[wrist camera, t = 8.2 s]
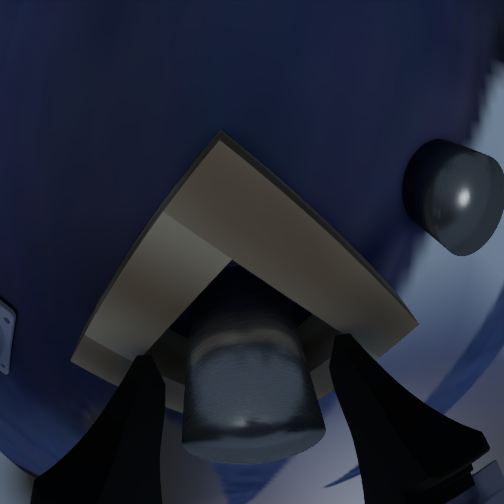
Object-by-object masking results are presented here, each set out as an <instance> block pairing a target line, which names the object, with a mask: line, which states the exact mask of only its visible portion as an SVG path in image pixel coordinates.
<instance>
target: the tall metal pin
mask: <svg viewBox="0 0 504 504" xmlns="http://www.w3.org/2000/svg"><path fill="white" fill-rule="evenodd" d="M325 431H326V428H325V424H324V420H323V417H322V413H321V410H320V406H319V403H318V399H317V396H316V392H315V389H314V385H313V382H312V378H311V375H310V372H309V368H308V365H307V361H306V358H305V355H304V351H303V348H302V344H301V341H300V338H299V334H298V331H297V328H296V325H295V321H294V318H293V315H292V311H291V308H290V305H289V302H288V298H287V296H285V295H284V294H282V293H281V292H279V291H278V290H276V289H275V288H273V287H272V286H270V285H269V284H268V283H266V282H265V281H263V280H262V279H260V278H259V277H257V276H256V275H254V274H253V273H251V272H250V271H248V270H247V269H245V268H244V267H242V266H234V267H228V268H224V269H223V270H222V271H221V272H220V273H219V274H218V275H217V276H216V277H215V278H214V279H213V280H212V281H211V282H210V283H209V284H208V286H207V287H206V288H205V289H204V290H203V291H202V292H201V293H200V294H199V295H198V296H197V297H196V298H195V300H194V301H193V302H192V310H191V319H190V329H189V340H188V351H187V363H186V376H185V390H184V407H183V427H182V445H183V447H184V448H185V449H186V450H187V451H188V452H189V453H191V454H192V455H194V456H196V457H199V458H201V459H204V460H208V461H212V462H217V463H224V464H239V465H244V464H259V463H267V462H272V461H277V460H281V459H285V458H288V457H291V456H294V455H297V454H299V453H301V452H304V451H305V450H307V449H309V448H311V447H313V446H314V445H315V444H317V443H318V442H319V441H320V440H321V439H322V438H323V436H324V434H325Z"/></svg>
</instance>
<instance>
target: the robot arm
mask: <svg viewBox="0 0 504 504" xmlns="http://www.w3.org/2000/svg"><path fill="white" fill-rule="evenodd" d="M15 320H16V314H15V312H14V311H13V310H12V309H11V308H10V307H9V306H8V305H6V304H5V303H4V302H3V301H1V300H0V371H1V372H2V373H4V374H6V375H7V374H8V373H9V367H10V356H11V347H12V339H13V332H14V326H15ZM329 370H330V374H331V378H332V382H333V386H334V390H335V392H336V395H337V397H338V400H339V403H340V405H341V408H342V410H343V413H344V416H345V418H346V421H347V423H348V426H349V429H350V431H351V434H352V438H353V441H354V445H355V449H356V454H357V458H358V463H359V468H360V473H361V478H362V485H363V491H364V500H365V504H504V477H503V474H502V472H501V469H500V467H499V465H498V462H497V460H494V461H492V462H491V463H489V464H488V465H486V466H485V467H484V468H482V469H481V470H479V471H478V472H476V473H475V474H473V475H471V473H470V472H471V471H472V470H473V467H472V463H473V462H474V461H476V460H477V459H479V458H480V457H481V456H482V455H484V454H485V453H487V452H488V451H489V449H490V447H489V445H488V443H487V440H486V438H485V436H484V435H483V433H482V432H480V431H478V430H475V429H472V428H470V427H467V426H465V425H462V424H460V423H458V422H456V421H454V420H452V419H450V418H448V417H446V416H445V415H443V414H441V413H440V412H438V411H436V410H434V409H433V408H431V407H430V406H428V405H427V404H425V403H424V402H422V401H421V400H419V399H418V398H416V397H415V396H414V395H413V394H411V393H410V392H409V391H408V390H406V389H405V388H404V387H403V386H402V385H400V384H399V383H398V382H397V381H396V380H395V379H394V378H393V377H392V376H390V375H389V374H388V373H387V372H386V371H385V370H384V369H383V368H382V367H381V366H380V365H379V364H378V363H377V362H376V361H375V360H374V359H373V358H372V357H371V356H370V355H369V353H368V352H367V351H366V350H365V349H364V348H363V347H362V346H361V345H360V344H359V343H358V342H357V340H356V339H355V338H354V337H353V336H352V335H351V334H350V333H347V334H342V335H336V336H335V339H334V344H333V349H332V354H331V358H330V363H329ZM165 385H166V384H165V382H164V380H163V378H162V376H161V374H160V372H159V370H158V368H157V366H156V364H155V362H154V360H153V358H152V355H137V356H136V358H135V359H134V361H133V363H132V364H131V366H130V368H129V370H128V371H127V373H126V375H125V377H124V378H123V380H122V382H121V383H120V385H119V387H118V388H117V390H116V391H115V393H114V395H113V396H112V398H111V400H110V401H109V403H108V404H107V406H106V407H105V409H104V410H103V411H102V413H101V414H100V416H99V417H98V419H97V420H96V421H95V423H94V424H93V425H92V427H91V428H90V429H89V430H88V432H87V433H86V434H85V435H84V436H83V437H82V439H81V440H80V441H79V442H78V443H77V444H76V445H75V446H74V447H73V448H72V449H71V450H70V451H69V452H68V453H67V454H66V455H65V456H64V457H63V458H62V459H61V460H60V461H58V462H57V463H56V464H55V465H54V466H53V467H51V468H50V469H49V470H47V471H46V472H45V473H43V474H42V475H41V476H39V477H38V478H36V479H35V480H34V484H33V490H32V496H31V502H30V504H162V496H161V484H160V446H161V438H162V429H163V421H164V413H165Z"/></svg>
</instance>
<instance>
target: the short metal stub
mask: <svg viewBox="0 0 504 504" xmlns="http://www.w3.org/2000/svg"><path fill="white" fill-rule="evenodd" d="M402 198H403V204H404V207H405V210H406V212H407V214H408V215H409V217H410V218H411V219H412V220H413V221H414V222H415V223H416V224H418V225H419V226H420V227H421V228H422V229H424V230H425V231H426V232H427V233H429V234H430V235H431V236H432V237H433V238H435V239H436V240H437V241H438V242H439V243H440V244H442V245H443V246H444V247H445V248H447V250H448V251H450V252H451V253H452V254H454V255H457V256H466V255H470V254H472V253H474V252H476V251H477V250H479V249H480V248H481V247H482V246H483V245H484V244H485V243H486V242H487V241H488V240H489V239H490V237H491V236H492V235H493V233H494V231H495V230H496V228H497V226H498V224H499V221H500V219H501V216H502V213H503V210H504V174H503V171H502V169H501V167H500V165H499V164H498V162H497V161H496V160H495V159H494V158H492V157H490V156H488V155H486V154H483V153H481V152H478V151H475V150H473V149H470V148H467V147H465V146H462V145H459V144H456V143H453V142H450V141H447V140H443V139H435V140H431V141H429V142H427V143H425V144H424V145H422V146H421V147H420V148H419V149H418V150H417V151H416V152H415V153H414V155H413V156H412V158H411V159H410V161H409V163H408V165H407V168H406V170H405V174H404V178H403V183H402Z"/></svg>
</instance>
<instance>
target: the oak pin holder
mask: <svg viewBox="0 0 504 504" xmlns="http://www.w3.org/2000/svg"><path fill="white" fill-rule="evenodd" d="M231 260H234V261H235V262H237V263H238V264H240V265H241V266H242V267H244V268H245V269H247V270H248V271H250V272H251V273H253V274H254V275H256V276H257V277H259V278H260V279H262V280H263V281H265V282H266V283H268V284H269V285H270V286H272V287H273V288H275V289H276V290H278V291H279V292H281V293H282V294H284V295H285V296H287V297H288V298H290V299H291V300H293V301H294V302H296V303H297V304H299V305H300V306H302V307H303V308H305V309H306V310H308V311H309V312H311V313H312V315H311V316H310V317H309V318H307V319H306V320H305V321H304V322H303V323H302V324H300V325H299V326H298V327H297V331H298V334H299V338H300V341H301V344H302V348H303V351H304V355H305V358H306V361H307V365H308V368H309V372H310V375H311V378H312V382H313V385H314V389H315V392H316V396H317V399H320V398H322V397H323V396H325V395H326V394H328V393H329V392H331V391H333V390H334V386H333V382H332V378H331V374H330V370H329V363H330V358H331V354H332V349H333V344H334V339H335V336H336V335H342V334H347V333H350V334H351V335H352V336H353V337H354V338H355V339H356V340H357V342H358V343H359V344H360V345H361V346H362V347H363V348H364V349H365V350H366V351H367V352H368V353H369V355H370V356H371V357H372V358H373V359H374V360H376V359H377V358H379V357H380V356H381V355H383V354H384V353H385V352H387V351H388V350H389V349H390V348H391V347H393V346H394V345H395V344H396V343H398V342H399V341H400V340H401V339H402V338H403V337H405V336H406V335H407V334H408V333H410V332H411V331H412V330H413V329H414V328H415V327H416V326H417V325H419V323H418V322H417V320H416V319H415V318H414V316H413V315H412V314H411V312H410V311H409V309H408V308H407V307H406V305H405V304H404V302H403V301H402V300H401V298H400V297H399V296H398V294H397V293H396V292H395V290H394V289H393V288H392V287H391V285H390V284H389V283H388V282H387V281H386V280H385V279H384V278H383V277H382V276H381V275H380V274H379V273H378V272H377V271H376V270H375V269H374V268H373V267H372V266H371V264H370V263H369V262H368V261H367V260H366V259H365V258H364V257H363V256H362V255H361V254H360V253H359V252H358V251H357V250H356V249H355V248H354V247H353V246H352V245H351V244H350V243H349V242H348V241H347V240H346V239H345V238H343V237H342V236H341V235H340V234H339V233H338V232H337V231H336V230H335V229H334V228H333V227H332V226H331V225H330V224H329V223H328V222H327V221H326V220H325V219H324V218H323V217H321V216H320V215H319V214H318V213H317V212H316V211H315V210H314V209H313V208H312V207H311V206H310V205H309V204H307V203H306V202H305V201H304V200H303V199H302V198H301V197H300V196H299V195H297V194H296V193H295V192H294V191H293V190H292V189H291V188H290V187H288V186H287V185H286V184H285V183H284V182H283V181H282V180H281V179H279V178H278V177H277V176H276V175H275V174H274V173H272V172H271V171H270V170H269V169H268V168H267V167H265V166H264V165H263V164H262V163H261V162H259V161H258V160H257V159H256V158H255V157H253V156H252V155H251V154H250V153H249V152H247V151H246V150H245V149H244V148H243V147H241V146H240V145H239V144H238V143H236V142H235V141H234V140H233V139H231V138H230V137H229V136H228V135H226V134H225V133H224V132H223V131H221V130H220V131H219V132H218V133H217V134H216V136H215V137H214V138H213V139H212V140H211V142H210V143H209V144H208V145H207V146H206V147H205V149H204V150H203V151H202V152H201V154H200V155H199V156H198V157H197V158H196V160H195V161H194V162H193V163H192V165H191V166H190V167H189V168H188V170H187V171H186V172H185V174H184V175H183V176H182V177H181V179H180V180H179V181H178V183H177V184H176V185H175V187H174V188H173V189H172V191H171V192H170V193H169V195H168V196H167V197H166V199H165V200H164V201H163V203H162V204H161V205H160V207H159V208H158V210H157V211H156V212H155V214H154V215H153V217H152V218H151V219H150V221H149V222H148V224H147V225H146V227H145V228H144V230H143V231H142V232H141V234H140V235H139V237H138V238H137V240H136V241H135V243H134V244H133V246H132V247H131V249H130V250H129V252H128V254H127V255H126V257H125V258H124V260H123V261H122V263H121V264H120V266H119V268H118V269H117V271H116V272H115V274H114V276H113V277H112V279H111V281H110V282H109V284H108V286H107V287H106V289H105V291H104V292H103V294H102V296H101V297H100V299H99V301H98V303H97V304H96V306H95V308H94V310H93V311H92V313H91V315H90V317H89V319H88V321H87V323H86V325H85V327H84V330H83V332H82V334H81V337H80V339H79V341H78V344H77V346H76V348H75V351H74V353H73V356H72V358H71V362H73V363H75V364H77V365H78V366H80V367H82V368H84V369H85V370H87V371H89V372H91V373H93V374H95V375H97V376H99V377H100V378H102V379H104V380H106V381H108V382H110V383H112V384H114V385H116V386H119V385H120V383H121V382H122V380H123V378H124V377H125V375H126V373H127V371H128V370H129V368H130V366H131V364H132V363H133V361H134V359H135V358H136V356H137V355H152V358H153V360H154V362H155V364H156V366H157V368H158V370H159V372H160V374H161V376H162V378H163V380H164V382H165V384H166V385H165V407H167V408H170V409H173V410H175V411H178V412H181V413H183V407H184V390H185V376H186V363H187V351H188V340H189V339H188V338H186V337H184V336H182V335H180V334H178V333H176V332H174V331H172V330H171V329H169V327H170V325H171V324H172V323H173V322H174V321H175V320H176V319H177V318H178V317H179V316H180V315H181V314H182V312H183V311H184V310H185V309H186V308H187V307H188V306H189V305H190V304H191V303H192V302H193V301H194V300H195V298H196V297H197V296H198V295H199V294H200V293H201V292H202V291H203V290H204V289H205V288H206V287H207V286H208V284H209V283H210V282H211V281H212V280H213V279H214V278H215V277H216V276H217V275H218V274H219V273H220V272H221V271H222V270H223V268H224V267H225V266H226V265H227V264H228V263H229V262H230V261H231Z"/></svg>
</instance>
